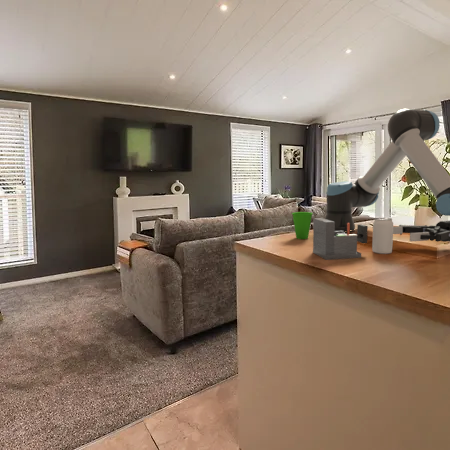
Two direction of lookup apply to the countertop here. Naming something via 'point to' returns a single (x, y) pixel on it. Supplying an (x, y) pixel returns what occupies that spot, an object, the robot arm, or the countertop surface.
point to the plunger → (359, 232)
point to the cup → (302, 224)
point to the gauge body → (333, 241)
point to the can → (382, 235)
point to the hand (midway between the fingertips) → (397, 233)
